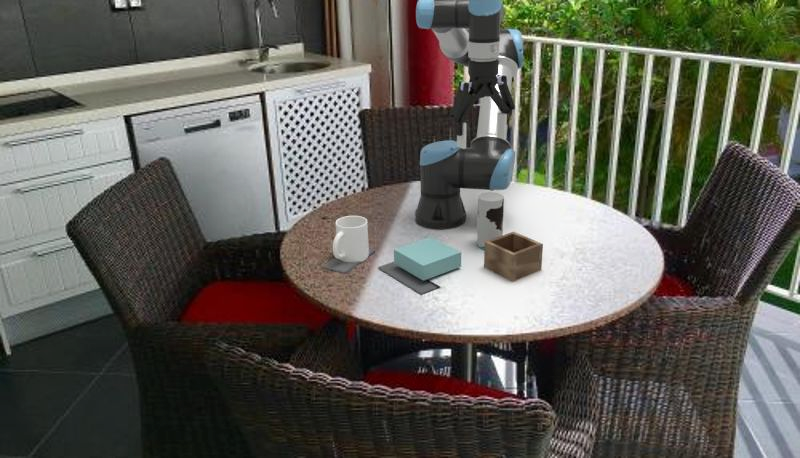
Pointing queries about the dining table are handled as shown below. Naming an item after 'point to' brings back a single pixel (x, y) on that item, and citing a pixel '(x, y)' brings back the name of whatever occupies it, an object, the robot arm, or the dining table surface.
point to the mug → (351, 239)
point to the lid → (427, 258)
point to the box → (513, 256)
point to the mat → (408, 278)
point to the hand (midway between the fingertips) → (481, 142)
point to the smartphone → (342, 264)
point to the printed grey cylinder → (489, 217)
